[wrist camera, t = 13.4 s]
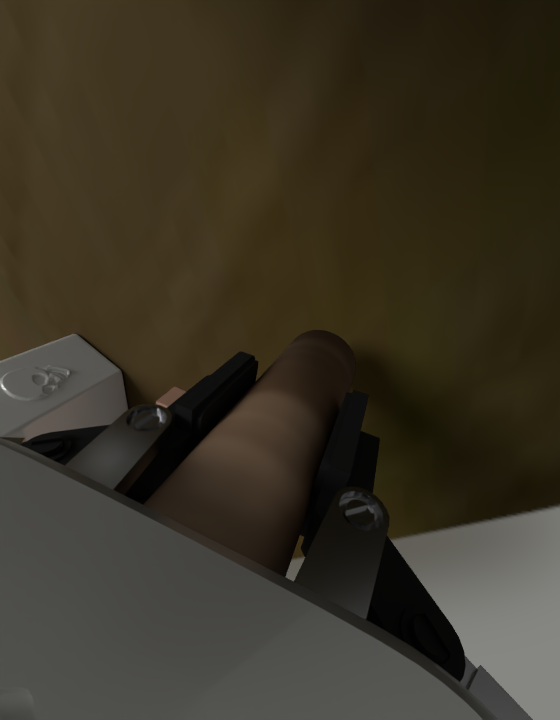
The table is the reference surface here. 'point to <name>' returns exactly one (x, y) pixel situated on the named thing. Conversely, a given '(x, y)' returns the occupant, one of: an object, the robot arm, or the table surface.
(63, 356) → the jar
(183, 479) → the stick
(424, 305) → the table surface
